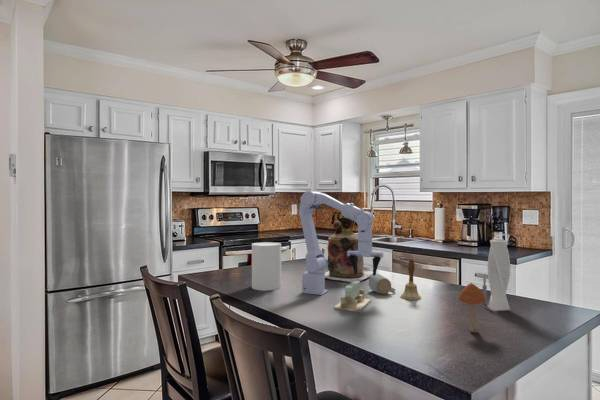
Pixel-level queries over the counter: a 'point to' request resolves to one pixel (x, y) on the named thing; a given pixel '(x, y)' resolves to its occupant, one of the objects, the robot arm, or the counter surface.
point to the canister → (266, 266)
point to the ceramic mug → (380, 284)
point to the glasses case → (352, 289)
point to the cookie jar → (344, 253)
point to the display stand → (353, 303)
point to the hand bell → (411, 285)
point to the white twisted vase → (497, 275)
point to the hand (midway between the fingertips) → (365, 274)
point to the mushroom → (472, 303)
